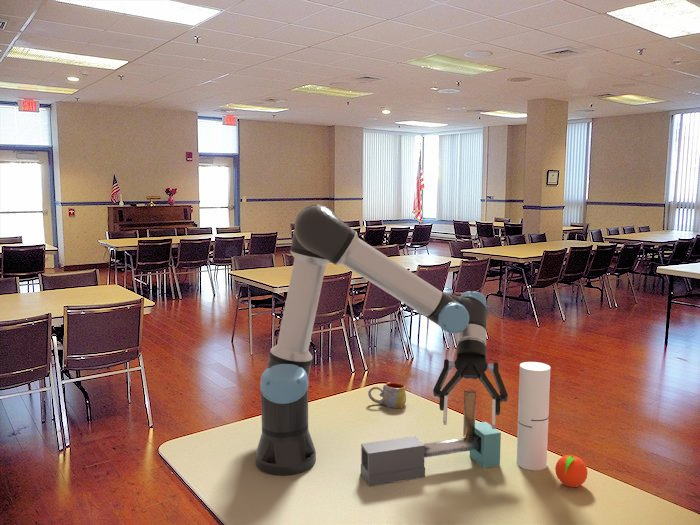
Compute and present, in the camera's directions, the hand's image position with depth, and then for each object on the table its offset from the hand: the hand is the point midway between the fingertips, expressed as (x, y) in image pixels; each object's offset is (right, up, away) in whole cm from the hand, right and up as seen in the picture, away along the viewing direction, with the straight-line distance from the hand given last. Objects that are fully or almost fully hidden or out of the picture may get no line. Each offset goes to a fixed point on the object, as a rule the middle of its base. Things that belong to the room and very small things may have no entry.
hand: (468, 424), depth 139 cm
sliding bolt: (-3, -8, +3) cm, 9 cm away
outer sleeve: (-19, -12, -2) cm, 22 cm away
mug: (-17, -6, +43) cm, 47 cm away
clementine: (+22, -12, -7) cm, 26 cm away
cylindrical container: (+16, -11, +4) cm, 20 cm away
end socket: (+5, -11, +5) cm, 13 cm away
